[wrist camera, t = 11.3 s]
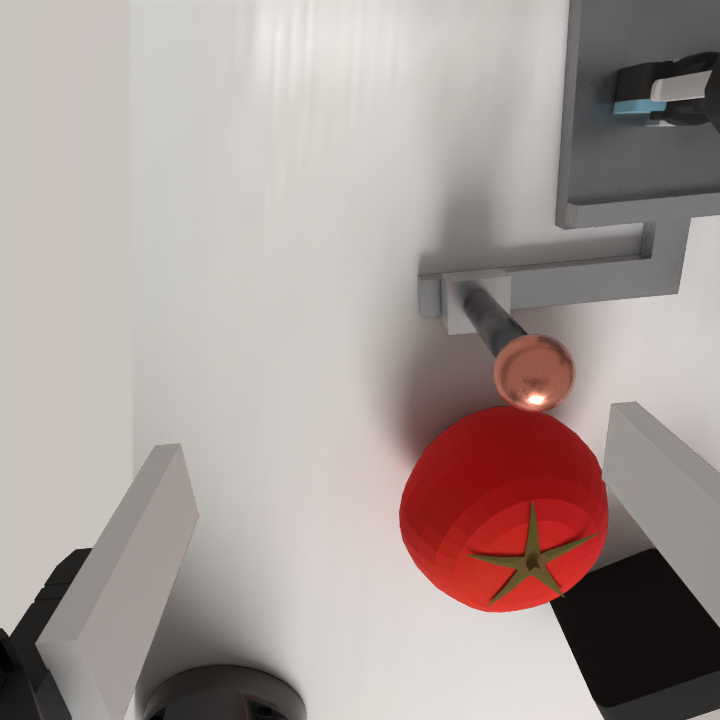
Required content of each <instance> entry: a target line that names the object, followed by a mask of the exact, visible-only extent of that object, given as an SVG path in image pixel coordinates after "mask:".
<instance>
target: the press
mask: <svg viewBox="0 0 720 720" xmlns="http://www.w3.org/2000/svg"><path fill="white" fill-rule="evenodd" d="M710 51H712V52H718V53H720V0H570V8H569V24H568V39H567V55H566V70H565V85H564V101H563V116H562V131H561V147H560V162H559V178H558V193H557V208H556V224H555V226H558V227H560V228H563V229H565V230H566V229H577V228H588V227H598V226H609V225H619V224H630V223H640V222H645V226H644V233H643V241H642V248H641V255H630V256H620V257H609V258H599V259H588V260H578V261H567V262H557V263H546V264H536V265H525V266H515V267H504V268H502V269H503V270H504V271H506V272H507V273H508V274H509V275H510V276H511V301H510V310H513V309H523V308H534V307H545V306H555V305H566V304H576V303H587V302H597V301H608V300H618V299H629V298H639V297H650V296H660V295H671V294H678V291H679V285H680V279H681V273H682V267H683V261H684V255H685V249H686V243H687V238H688V232H689V226H690V220H691V218H692V217H703V216H713V215H720V134H719V133H718V131H717V130H716V129H715V127H714V126H713V125H712V123H711V122H708V123H705V124H702V125H697V126H652V127H646V126H645V125H655V124H659V122H660V121H650V120H649V118H650V113H626V114H613V111H614V105H615V100H616V94H617V88H618V83H619V77H620V71H621V69H622V68H626V67H630V66H634V65H638V64H642V63H647V62H661V61H665V60H669V59H682V58H684V57H686V56H690V55H694V54H698V53H703V52H710ZM418 294H419V313H420V315H421V317H422V318H429V317H439V316H442V298H441V274H431V275H420V276H418Z"/></svg>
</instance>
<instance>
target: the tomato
mask: <svg viewBox="0 0 720 720" xmlns="http://www.w3.org/2000/svg"><path fill="white" fill-rule="evenodd" d="M399 519H400V529H401V534H402V539H403V542H404V544H405V546H406V548H407V550H408V552H409V554H410V556H411V557H412V559H413V561H414V562H415V564H416V566H417V567H418V568H419V569H420V570H421V571H422V573H423V574H424V575H425V576H426V577H427V578H428V579H429V580H430V581H431V582H432V583H433V584H434V585H435V586H436V587H437V588H438V589H440V590H441V591H443V592H444V593H446V594H447V595H448V596H450V597H452V598H454V599H456V600H457V601H459V602H461V603H463V604H465V605H467V606H469V607H471V608H474V609H478V610H481V611H485V612H500V613H501V612H510V611H517V610H522V609H527V608H532V607H535V606H538V605H542V604H545V603H547V602H549V601H551V600H553V599H555V598H557V597H559V596H560V595H561V596H563V597H564V595H563V593H565V592H567V591H568V590H569V589H571V588H572V587H573V586H574V585H575V584H576V583H578V582H579V581H580V580H581V579H582V578H583V577H584V576H585V575H586V573H587V572H588V571H589V570H590V569H591V568H592V566H593V565H594V564H595V562H596V560H597V559H598V557H599V555H600V554H601V552H602V549H603V546H604V543H605V541H606V536H607V529H608V503H607V494H606V486H605V482H604V481H603V480H602V470H601V468H600V466H599V463H598V461H597V458H596V456H595V455H594V454H593V452H592V451H591V450H590V449H589V447H588V446H587V445H586V444H585V443H584V442H583V441H582V440H581V439H580V437H579V436H578V435H577V434H576V433H574V432H573V431H572V430H570V429H569V428H568V427H567V426H565V425H564V424H562V423H561V422H559V421H558V420H557V419H555V418H554V417H552V416H549V415H546V414H543V413H540V412H527V411H523V410H520V409H517V408H515V407H513V406H502V407H492V408H489V409H485V410H481V411H478V412H475V413H473V414H471V415H468V416H466V417H464V418H462V419H460V420H459V421H457V422H456V423H454V424H453V425H451V426H450V427H448V428H447V429H446V430H445V431H444V432H443V433H441V434H440V435H439V436H438V437H437V438H436V439H435V440H434V441H433V442H432V443H431V444H430V445H429V446H428V447H427V449H426V450H425V451H424V453H423V454H422V456H421V457H420V459H419V460H418V462H417V464H416V465H415V467H414V469H413V471H412V473H411V475H410V477H409V479H408V481H407V483H406V485H405V489H404V492H403V495H402V499H401V505H400V510H399ZM564 598H565V597H564Z"/></svg>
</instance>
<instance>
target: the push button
mask: <svg viewBox="0 0 720 720" xmlns="http://www.w3.org/2000/svg"><path fill="white" fill-rule="evenodd" d="M626 113H650V118H649V120H650V121H660V122H659V124H655V125H645V126H646V127H652V126H697V125H702V124H705V123H708V122H711V123H712V125H713V126H714V127H715V129H716V130H717V131H718V133H719V134H720V53H718V52H712V51H710V52H703V53H698V54H694V55H690V56H686V57H684V58H682V59H669V60H665V61H661V62H647V63H642V64H638V65H634V66H630V67H626V68H622V69H621V71H620V77H619V83H618V88H617V94H616V100H615V105H614V111H613V114H626Z"/></svg>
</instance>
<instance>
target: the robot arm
mask: <svg viewBox="0 0 720 720" xmlns="http://www.w3.org/2000/svg"><path fill="white" fill-rule="evenodd" d="M602 480H603V481H604V482H605V484H606V485H607V486H608V487H609V489H610V490H611V491H612V492H613V494H614V495H615V496H616V498H617V499H618V500H619V501H620V503H621V504H622V505H623V506H624V508H625V509H626V510H627V511H628V513H629V514H630V515H631V516H632V518H633V519H634V520H635V521H636V523H637V524H638V525H639V527H640V528H641V529H642V530H643V532H644V533H645V534H646V535H647V537H648V538H649V539H650V540H651V542H652V543H653V544H654V545H655V547H656V548H657V549H658V550H659V552H660V553H661V554H662V556H663V557H664V558H665V559H666V561H667V562H668V563H669V564H670V566H671V567H672V568H673V569H674V571H675V572H676V573H677V574H678V576H679V577H680V578H681V579H682V581H683V582H684V583H685V584H686V586H687V587H688V588H689V590H690V591H691V592H692V593H693V595H694V596H695V597H696V598H697V600H698V601H699V602H700V603H701V605H702V606H703V607H704V608H705V610H706V611H707V612H708V613H709V615H710V616H711V617H712V619H713V620H714V621H715V622H716V624H717V625H718V626H719V627H720V473H719V472H718V471H717V470H715V469H714V468H713V467H712V466H711V465H710V464H708V463H707V462H706V461H705V460H704V459H703V458H701V457H700V456H699V455H698V454H697V453H696V452H694V451H693V450H692V449H691V448H690V447H689V446H687V445H686V444H685V443H684V442H683V441H682V440H680V439H679V438H678V437H677V436H676V435H675V434H673V433H672V432H671V431H670V430H669V429H668V428H666V427H665V426H664V425H663V424H662V423H661V422H659V421H658V420H657V419H656V418H655V417H654V416H652V415H651V414H650V413H649V412H648V411H647V410H645V409H644V408H643V407H642V406H641V405H640V404H638V403H637V402H626V403H615V404H611V409H610V416H609V424H608V432H607V440H606V448H605V455H604V463H603V471H602ZM198 517H199V514H198V510H197V506H196V502H195V498H194V494H193V491H192V487H191V483H190V479H189V475H188V471H187V467H186V463H185V459H184V455H183V452H182V448H181V444H180V443H178V444H167V445H156V446H155V447H154V448H153V450H152V451H151V453H150V455H149V456H148V458H147V460H146V461H145V463H144V465H143V466H142V468H141V470H140V471H139V473H138V475H137V476H136V478H135V480H134V481H133V483H132V485H131V486H130V488H129V490H128V491H127V493H126V494H125V496H124V498H123V499H122V501H121V503H120V505H119V506H118V508H117V509H116V511H115V513H114V514H113V516H112V518H111V519H110V521H109V522H108V524H107V526H106V527H105V529H104V531H103V532H102V534H101V536H100V537H99V539H98V541H97V542H96V544H95V546H94V547H93V548H86V549H76V550H74V551H73V552H72V553H71V554H70V555H69V556H68V557H66V558H65V559H64V560H63V561H62V562H61V563H60V564H59V565H58V566H56V568H55V570H54V571H53V572H52V574H51V575H50V577H49V578H48V580H47V581H46V583H45V584H44V585H45V587H44V588H42V589H41V590H40V592H39V593H38V595H37V596H36V598H35V601H34V603H32V604H31V606H30V607H29V609H28V610H27V611H26V613H25V614H24V616H23V617H22V619H21V620H20V622H19V623H18V625H17V626H16V628H15V630H14V631H13V632H12V634H11V635H10V637H9V636H8V635H7V633H6V632H5V631H4V630H3V629H2V628H0V720H123V719H124V716H125V713H126V710H127V708H128V705H129V702H130V700H131V697H132V695H133V692H134V689H135V686H136V684H137V681H138V678H139V676H140V673H141V670H142V668H143V665H144V662H145V660H146V657H147V654H148V652H149V649H150V646H151V644H152V641H153V638H154V635H155V633H156V630H157V627H158V625H159V622H160V619H161V617H162V614H163V611H164V609H165V606H166V603H167V601H168V598H169V595H170V592H171V590H172V587H173V584H174V582H175V579H176V576H177V574H178V571H179V568H180V566H181V563H182V560H183V558H184V555H185V552H186V549H187V547H188V544H189V541H190V539H191V536H192V533H193V531H194V528H195V525H196V523H197V520H198ZM142 720H307V715H306V710H305V707H304V705H303V703H302V701H301V699H300V698H299V696H298V695H297V694H296V693H295V692H294V691H293V690H292V689H291V688H290V687H289V686H287V685H286V684H285V683H283V682H282V681H280V680H278V679H276V678H274V677H272V676H270V675H268V674H265V673H262V672H259V671H256V670H252V669H247V668H242V667H233V666H211V667H203V668H197V669H193V670H189V671H186V672H183V673H181V674H178V675H176V676H174V677H172V678H170V679H169V680H167V681H166V682H164V683H163V684H162V685H160V686H159V687H158V688H157V689H156V690H155V691H154V693H153V694H152V696H151V697H150V699H149V701H148V704H147V707H146V710H145V712H144V715H143V718H142Z"/></svg>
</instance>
